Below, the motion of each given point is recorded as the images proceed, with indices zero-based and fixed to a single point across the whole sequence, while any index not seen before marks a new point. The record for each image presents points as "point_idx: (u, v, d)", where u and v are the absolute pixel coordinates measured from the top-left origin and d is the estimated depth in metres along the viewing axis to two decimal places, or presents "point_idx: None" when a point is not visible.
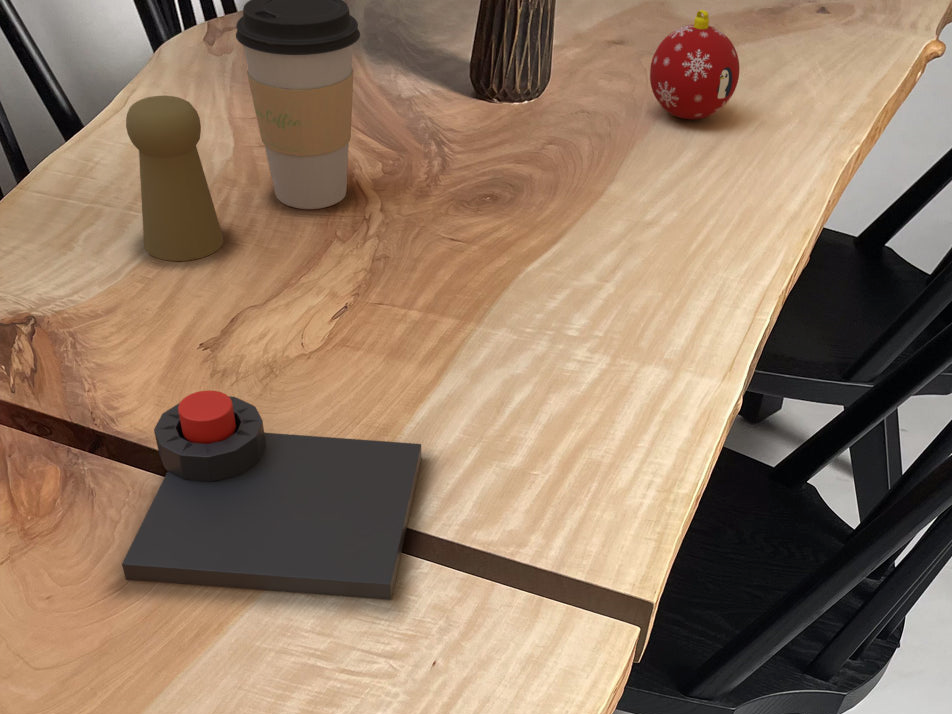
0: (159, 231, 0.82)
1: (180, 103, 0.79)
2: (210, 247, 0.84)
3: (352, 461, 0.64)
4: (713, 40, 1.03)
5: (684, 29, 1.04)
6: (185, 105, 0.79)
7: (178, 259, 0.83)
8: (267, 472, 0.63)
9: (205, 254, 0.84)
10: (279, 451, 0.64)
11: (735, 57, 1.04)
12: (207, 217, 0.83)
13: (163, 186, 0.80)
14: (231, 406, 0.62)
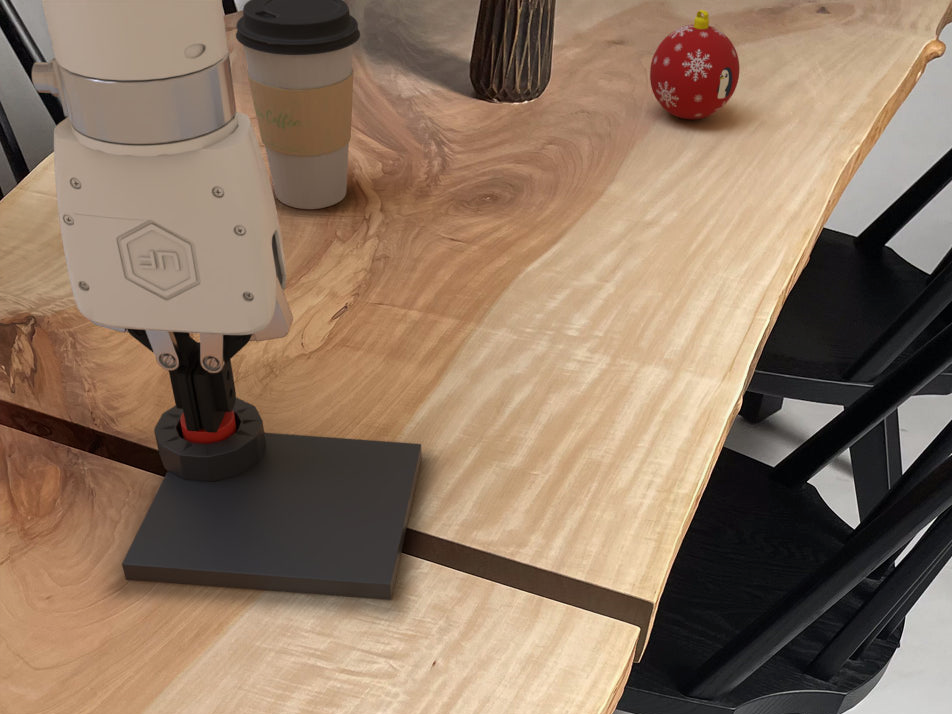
0: None
1: None
2: None
3: (352, 461, 0.64)
4: (713, 40, 1.03)
5: (684, 29, 1.04)
6: None
7: None
8: (267, 472, 0.63)
9: None
10: (279, 451, 0.64)
11: (735, 57, 1.04)
12: None
13: None
14: (233, 418, 0.63)
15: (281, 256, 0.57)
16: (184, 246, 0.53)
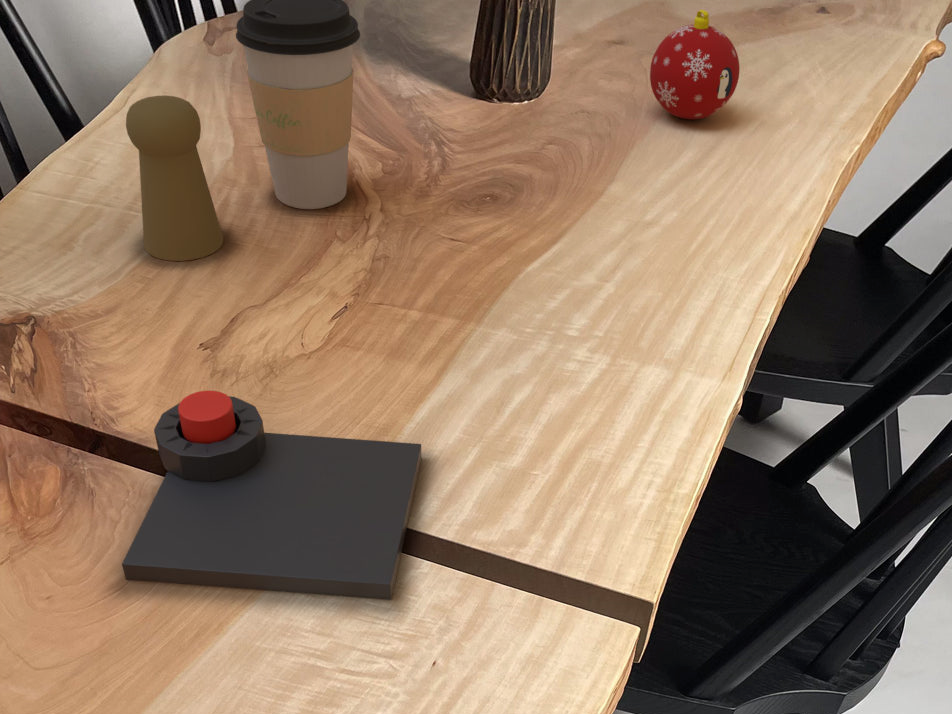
0: (159, 231, 0.82)
1: (180, 103, 0.79)
2: (210, 247, 0.84)
3: (352, 461, 0.64)
4: (713, 40, 1.03)
5: (684, 29, 1.04)
6: (184, 104, 0.79)
7: (178, 259, 0.83)
8: (267, 472, 0.63)
9: (205, 254, 0.84)
10: (279, 451, 0.64)
11: (735, 57, 1.04)
12: (207, 217, 0.83)
13: (163, 186, 0.80)
14: (231, 406, 0.62)
15: None
16: None
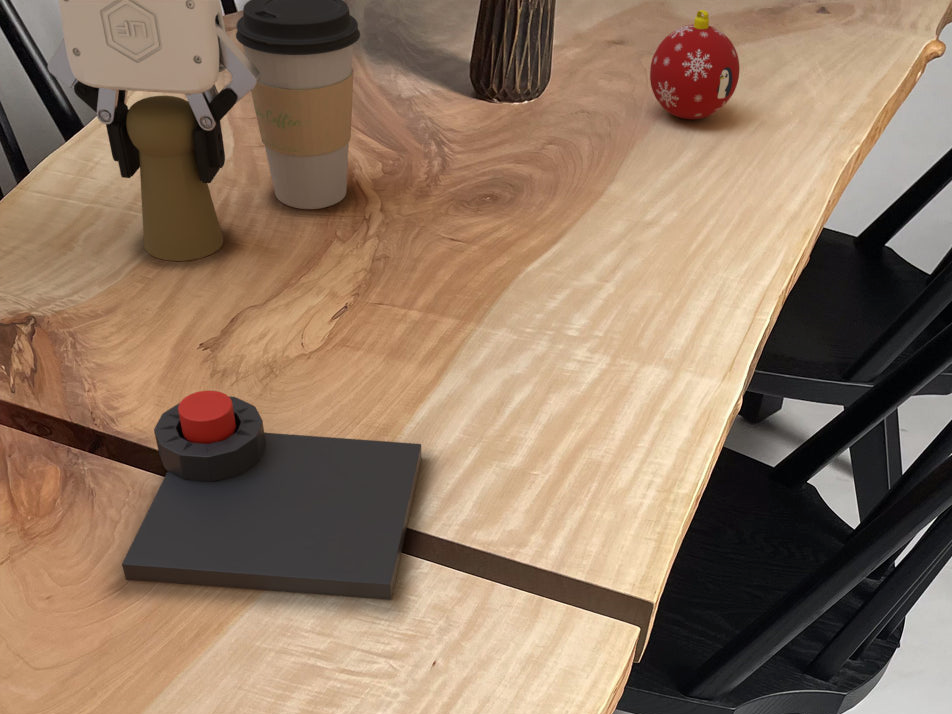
0: (159, 231, 0.82)
1: (180, 103, 0.79)
2: (210, 247, 0.84)
3: (352, 461, 0.64)
4: (713, 40, 1.03)
5: (684, 29, 1.04)
6: (185, 105, 0.79)
7: (178, 259, 0.83)
8: (267, 472, 0.63)
9: (205, 254, 0.84)
10: (279, 451, 0.64)
11: (735, 57, 1.04)
12: (207, 217, 0.83)
13: (163, 186, 0.80)
14: (231, 406, 0.62)
15: None
16: (150, 17, 0.72)
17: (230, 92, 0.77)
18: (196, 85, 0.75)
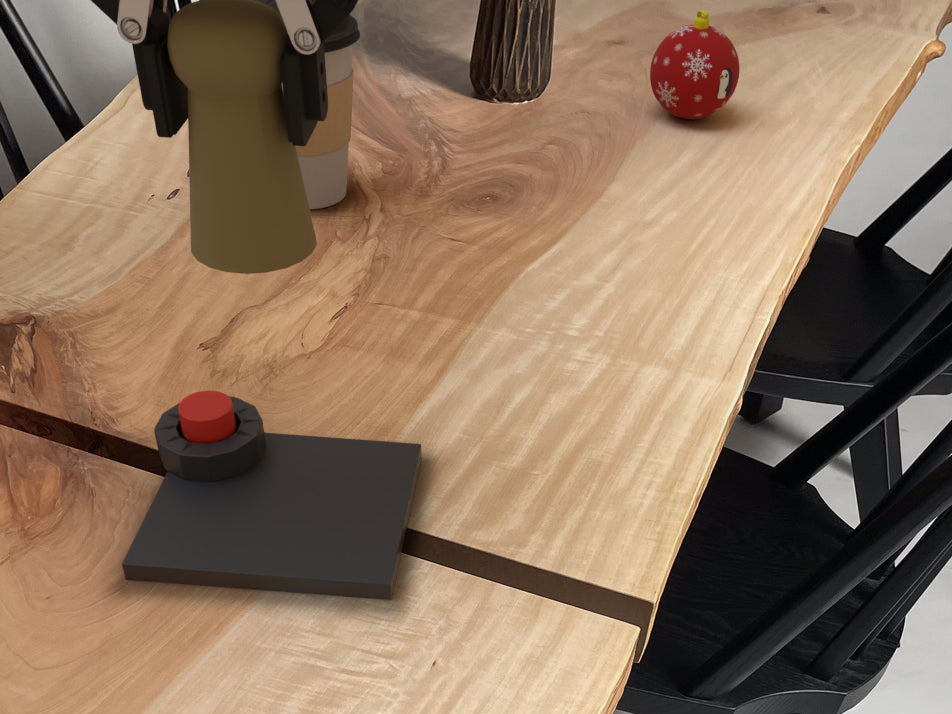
0: (219, 226, 0.50)
1: (259, 8, 0.47)
2: (299, 251, 0.52)
3: (352, 461, 0.64)
4: (713, 40, 1.03)
5: (684, 29, 1.04)
6: (267, 11, 0.47)
7: (248, 271, 0.51)
8: (267, 472, 0.63)
9: (291, 263, 0.52)
10: (279, 451, 0.64)
11: (735, 57, 1.04)
12: (296, 203, 0.51)
13: (228, 149, 0.48)
14: (231, 406, 0.62)
15: None
16: None
17: None
18: None
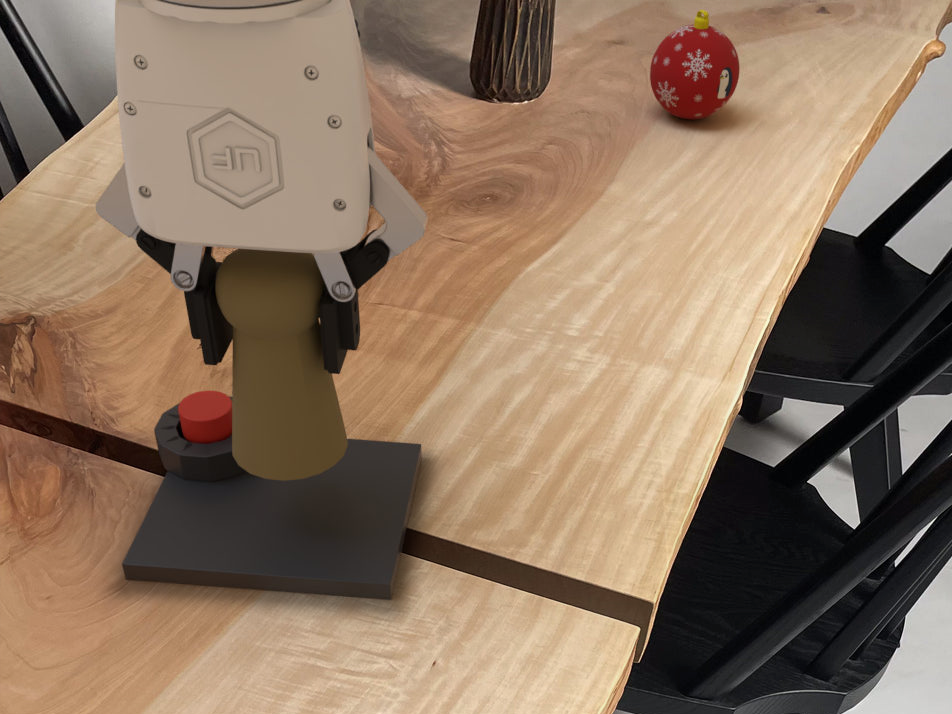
0: (260, 440, 0.55)
1: (299, 257, 0.51)
2: (332, 457, 0.57)
3: (352, 461, 0.64)
4: (713, 40, 1.03)
5: (684, 29, 1.04)
6: (306, 259, 0.51)
7: (286, 478, 0.56)
8: None
9: (325, 468, 0.56)
10: None
11: (735, 57, 1.04)
12: (330, 416, 0.56)
13: (270, 379, 0.53)
14: (231, 406, 0.62)
15: None
16: (267, 141, 0.44)
17: (381, 246, 0.49)
18: (334, 242, 0.47)
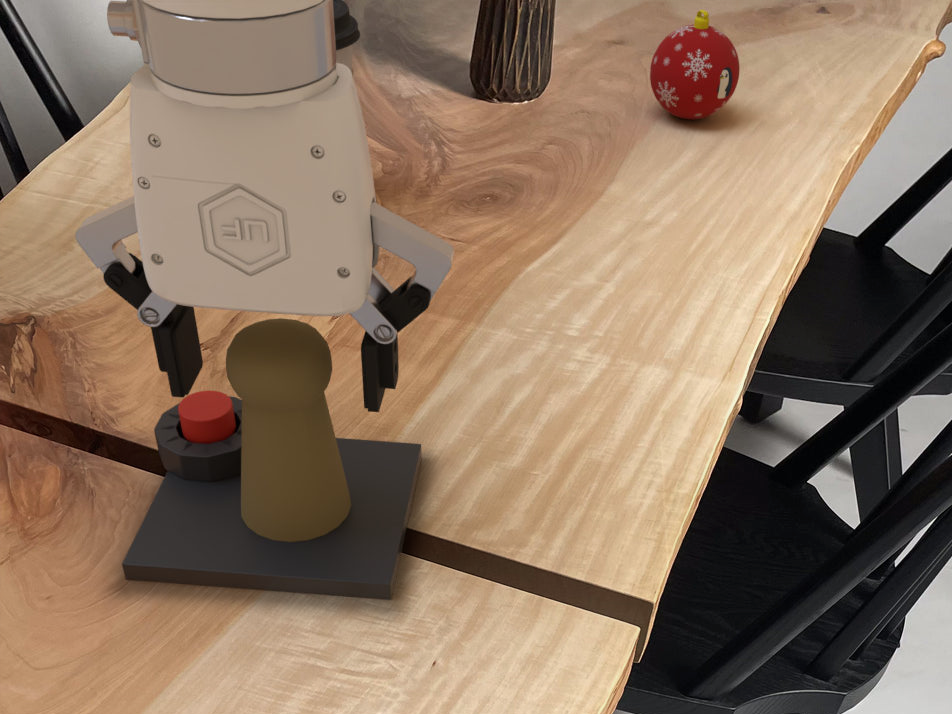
0: (268, 505, 0.57)
1: (305, 335, 0.54)
2: (336, 518, 0.59)
3: (352, 461, 0.64)
4: (713, 40, 1.03)
5: (685, 29, 1.04)
6: (312, 337, 0.54)
7: (292, 539, 0.58)
8: None
9: (329, 529, 0.59)
10: None
11: (735, 57, 1.04)
12: (334, 481, 0.58)
13: (277, 449, 0.55)
14: (231, 406, 0.62)
15: None
16: (275, 214, 0.46)
17: (423, 291, 0.51)
18: (338, 307, 0.49)
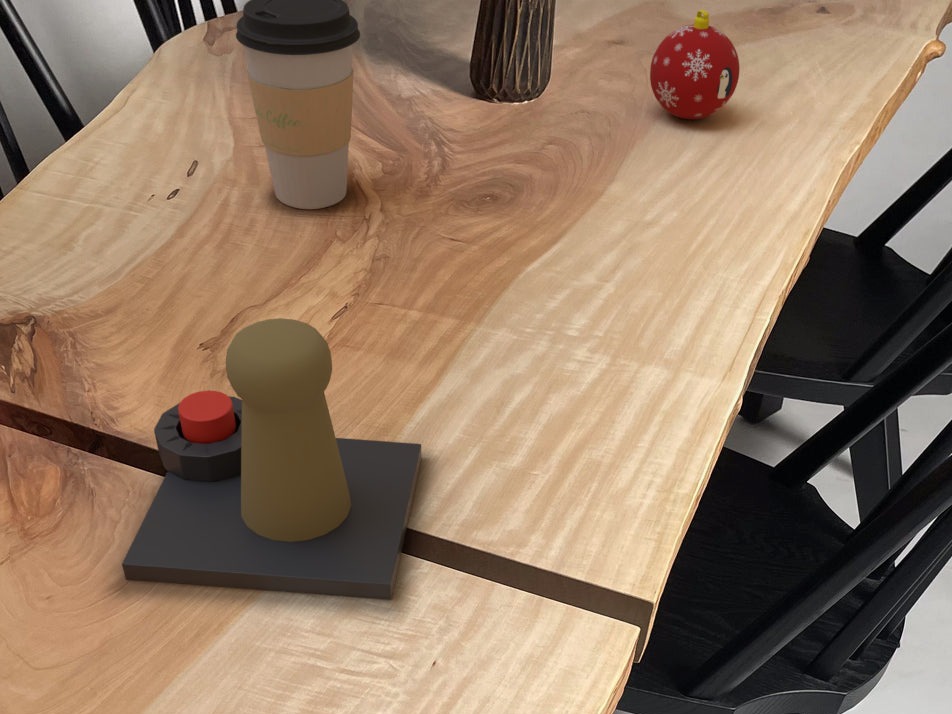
0: (268, 505, 0.57)
1: (305, 335, 0.54)
2: (336, 518, 0.59)
3: (352, 461, 0.64)
4: (713, 40, 1.03)
5: (684, 29, 1.04)
6: (312, 337, 0.54)
7: (292, 539, 0.58)
8: None
9: (329, 529, 0.59)
10: None
11: (735, 57, 1.04)
12: (334, 480, 0.58)
13: (277, 449, 0.55)
14: (231, 406, 0.62)
15: None
16: None
17: None
18: None
